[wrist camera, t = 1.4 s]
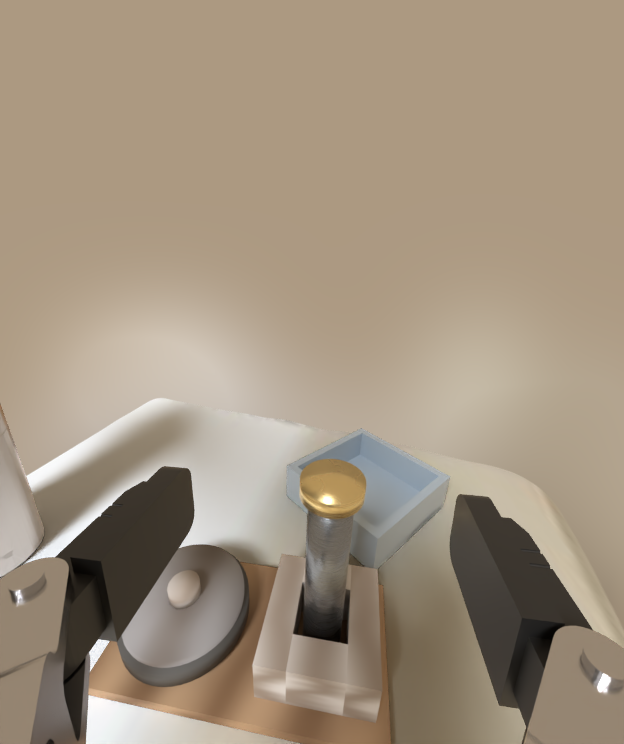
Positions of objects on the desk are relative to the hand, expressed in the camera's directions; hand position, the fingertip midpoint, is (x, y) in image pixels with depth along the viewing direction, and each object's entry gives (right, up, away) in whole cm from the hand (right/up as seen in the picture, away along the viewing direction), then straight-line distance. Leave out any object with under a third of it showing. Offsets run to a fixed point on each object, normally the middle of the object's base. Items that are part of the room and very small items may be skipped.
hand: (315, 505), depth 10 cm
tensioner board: (-5, -19, +20) cm, 28 cm away
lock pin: (+1, -19, +18) cm, 27 cm away
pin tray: (+7, -14, +35) cm, 38 cm away
